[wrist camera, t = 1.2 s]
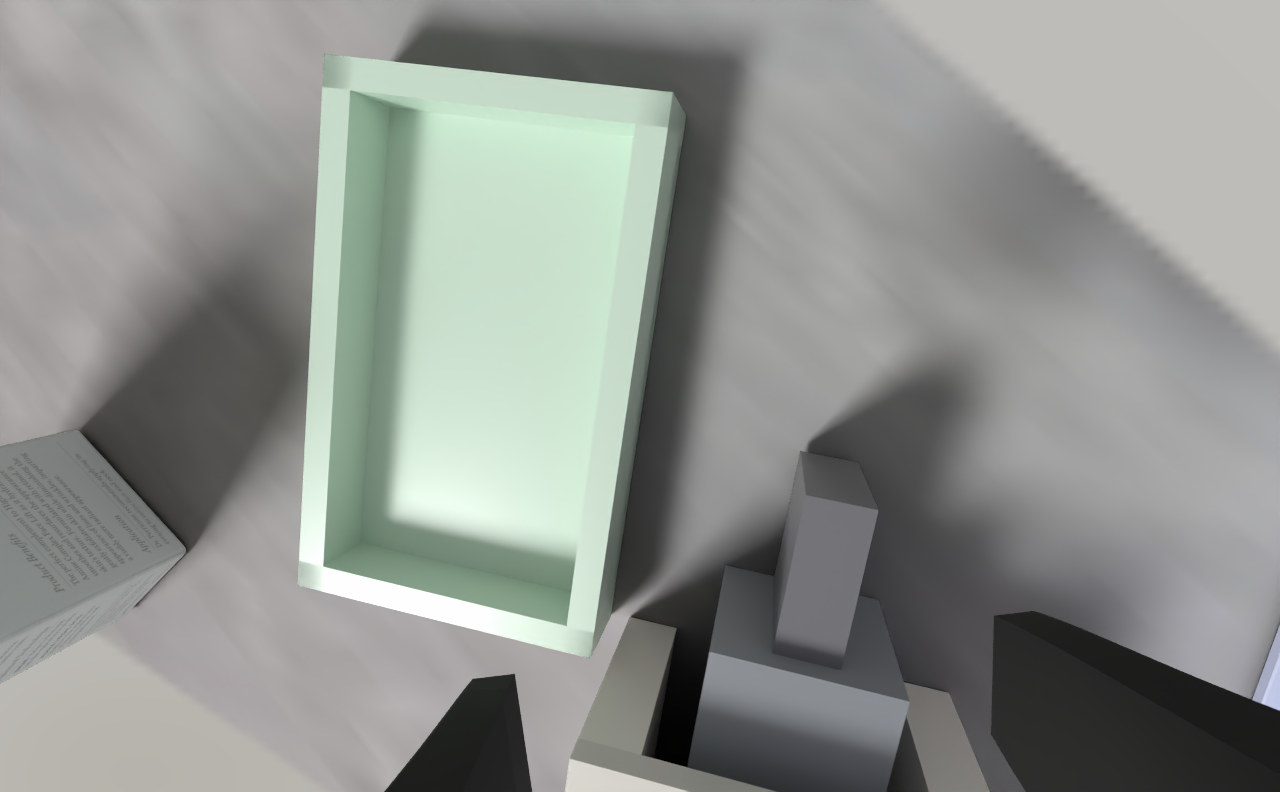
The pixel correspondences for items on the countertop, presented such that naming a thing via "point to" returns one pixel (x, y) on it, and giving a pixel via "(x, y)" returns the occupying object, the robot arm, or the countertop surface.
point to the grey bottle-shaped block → (805, 653)
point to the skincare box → (70, 547)
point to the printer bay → (650, 788)
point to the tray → (481, 341)
